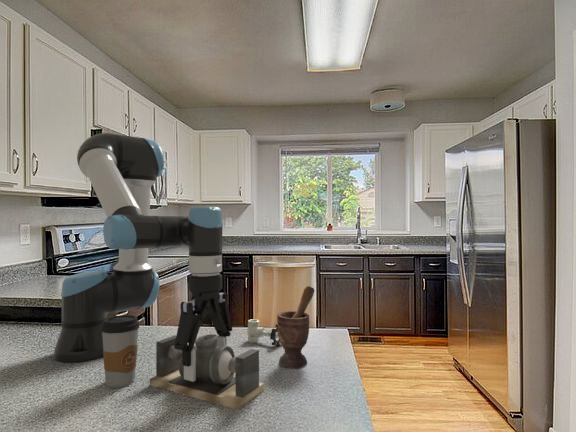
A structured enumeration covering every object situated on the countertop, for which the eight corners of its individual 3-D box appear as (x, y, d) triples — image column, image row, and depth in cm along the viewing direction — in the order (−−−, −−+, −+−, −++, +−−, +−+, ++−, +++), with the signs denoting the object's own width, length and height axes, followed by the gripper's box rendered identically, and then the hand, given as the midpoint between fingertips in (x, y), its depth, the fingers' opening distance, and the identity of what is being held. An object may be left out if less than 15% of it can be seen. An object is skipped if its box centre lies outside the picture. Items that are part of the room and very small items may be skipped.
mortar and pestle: (291, 353, 110) (290, 283, 110) (319, 357, 106) (318, 285, 106) (271, 366, 100) (271, 290, 100) (301, 372, 96) (301, 292, 96)
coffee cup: (114, 393, 84) (115, 325, 85) (93, 384, 89) (93, 320, 89) (146, 379, 91) (146, 317, 92) (125, 372, 96) (125, 313, 96)
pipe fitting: (239, 374, 88) (233, 331, 88) (221, 391, 81) (214, 344, 81) (197, 373, 93) (191, 332, 93) (176, 389, 85) (169, 344, 85)
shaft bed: (149, 385, 88) (149, 344, 88) (180, 370, 97) (180, 333, 97) (237, 409, 77) (237, 361, 77) (263, 390, 85) (263, 347, 86)
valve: (241, 342, 120) (272, 349, 113) (241, 321, 120) (272, 327, 114) (254, 337, 126) (285, 343, 119) (254, 317, 126) (284, 322, 119)
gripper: (183, 281, 76) (183, 394, 75) (246, 269, 96) (247, 358, 95) (156, 279, 79) (155, 386, 79) (222, 267, 99) (223, 353, 99)
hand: (205, 371), depth 87 cm, fingers open, 10 cm apart
